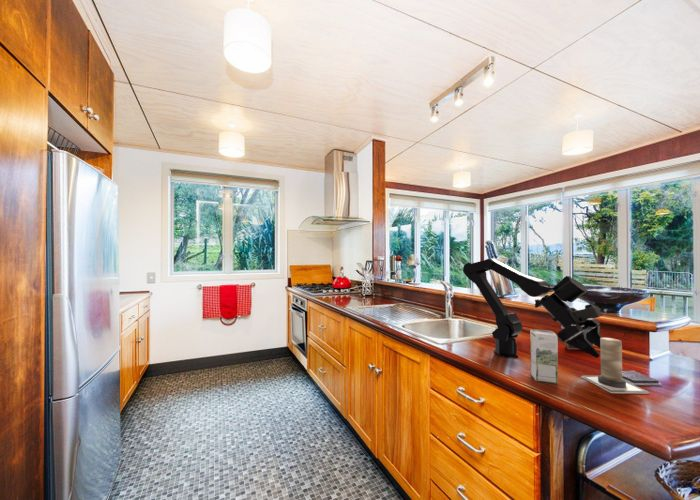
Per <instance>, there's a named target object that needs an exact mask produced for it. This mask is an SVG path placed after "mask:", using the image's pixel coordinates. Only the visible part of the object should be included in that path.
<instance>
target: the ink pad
mask: <svg viewBox="0 0 700 500" xmlns="http://www.w3.org/2000/svg"><path fill="white" fill-rule="evenodd" d="M622 379H623V380H624V381H626V382H629V383H631V384H633V385H635V386H662V385H663V384H662V383H661V382H660V381H659V380H657V379H655V378H653V377H650V376H648V375H645V374H643V373H641V372H638V371H635V370H622Z"/></svg>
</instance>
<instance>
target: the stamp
mask: <svg viewBox="0 0 700 500" xmlns="http://www.w3.org/2000/svg"><path fill="white" fill-rule="evenodd" d="M622 344H623V343H622V340H620V339H616V338H612V337H602V338H600V348H601V349H600V348H599V349H600V374H598V375H597V376H598V381H599V382H600V383H602V384H604V385H607V386H611V387H616V388H625V387H626V381H624V380H623V379H622V371H623V345H622Z"/></svg>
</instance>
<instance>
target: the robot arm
mask: <svg viewBox="0 0 700 500" xmlns="http://www.w3.org/2000/svg"><path fill="white" fill-rule="evenodd" d="M489 271H493V272H495V273H497V274H499V275H500V276H502V277H504V278H505V279H508V280H509V281H511V282H513V283H514V284H516V285H517V286H518V287H519V288H520V289H521V291H523V293H525V294H527V295H528V296H530V297H533V298H537V297H541V298H540V299H539V298H538V299H535V300H534V301H535V304H534V308H536V309H537V308H541V307H543V308H544V309H545V310H546V311H547V312H548V313H549V314H550V315H551V316H552V320H553V321H554V322H557V323H558V324H559V325H561V326H563V327H564V329H562V328H561V330H560V331H558V332H557V333H556V335H557V336H558V340H559V341H560V342H561V343H565V341H567V339H569V341H567V342H566V344H569V345H572V346H574V347H576V348H578V349H577V350H580V351H582V352H583V353H585V354H588V355H590V356H592V357H593V358H596V359H597V358H599V357H600V358H601V354H599V353H598V351H597V349H596V348H595V347H594V346H596V347H597V348H598V349H600V350H601V348H600V338H603V337H602V334H601V333H600V331H601V329H600V328H601V325H600V324H601V322H599V321H598V320H597V318H600V317H603V314H602V312H601V311H602V309H601V308H600V307H599V306H598V305H594V304H593V303H590V304H586V305H584V308H583V309H579V310H577V309H576V308H575V307H570V306H569V305H568V304H567V302H568V303H573V302H575V301H576V300H577V299H579V298H581V296H583V295H584V294H586V293H587V292H588V288H587V287H586V286H585V285H584V284H583V283H582V282H580V281H578V280H576V279H575V278H572V276H570V275H566V276H564V277H563V278H562V280H561V281H559V282H558V283H557V284H551V283H548V282H547V281H546V280H545V279H541V278H538V277H536V276H532V275H531V276H530V275H527V274H525V273H523V272H520V271H518V270H517V269H515V268H513V267H511V266H509V265H507V264H505V263H503V262H501V261H499V260H498V259H496V258H487V259H484V260H480V261H476V262H466V263H465V264H464V265H463V269H462V272H463V275H465V276H466V278H467V279H468V280H469V281H470V282H472V283H473V284H475V286H476V287H477V288H478V290H479V292H480V293H481V296H482V297H483V299H484V300H485V302H486V303H487V305H488V306H489V308H490V310H491V311H492V313H493V314H494V318H495V324H496V327H497V328H496V329H494V331H492V332H491V334H492V338H493V339H494V343H495V345H494V346H495V347H494V349H493V350H492V351H493V352H494V353H495V354H497V355H498V356H499V357H504V358H505V357H507V358H519V355H518V343H517V342H516V341H517V340H516V338H518V336H519V334H521V333H522V332H523V328H524V326H523V325H522V324H523V321H522V320H521V319H520V318H519V317H518V315H517V313H516V312H510V311H509V310H508V309H507V308H506V306H505V305H504V303H503V302H502V301H501V299H500V297H499V296H498V294H497V293H496V291H495V290H494V288H493V286H492V285H491V284H490V282H489V280H488V278H487V272H489ZM549 293H551V294H550V295H549ZM590 342H591V343H592V344H593V346H592V345H591V344H590Z"/></svg>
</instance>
